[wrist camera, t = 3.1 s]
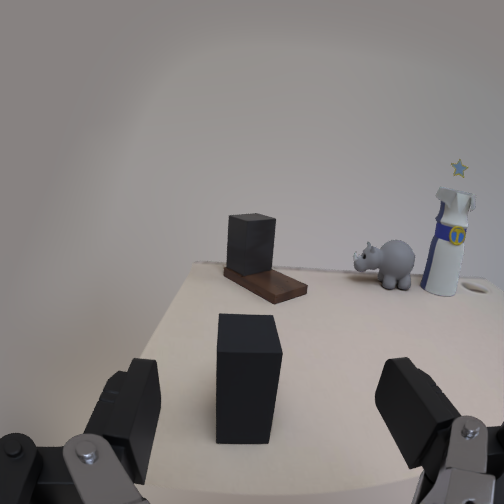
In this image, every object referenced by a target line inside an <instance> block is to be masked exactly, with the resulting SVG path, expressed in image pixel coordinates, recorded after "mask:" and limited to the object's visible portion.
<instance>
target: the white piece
mask: <svg viewBox="0 0 504 504" xmlns="http://www.w3.org/2000/svg"><path fill="white" fill-rule="evenodd" d="M451 165H452V166H453V167H454V168H455V172H454V176H455V175H460V176H462V177H463V178H464V172H463V171H464V170H466V169H467V168H468V167H466V166H464V165H462V163H461V160H460V159H459V161H458V163H457V164H454V163H451ZM436 197H437V198H438V199H439V200H441V207H440V211H439V214H438V216H437V217H436V218H435V219H436V221H437V224H436V230H435V235H434V237H433V239H432V241H431V245H430V249H429V254H428V259H427V263H426V267H425V271H424V274H423V278H422V281H421V284H420V285H421V287H422V288H423V289H424V290H426V291H428V292H430V293H433V294H436V295H440V296H453V295H455V293H456V288H457V283H458V278H459V273H460V269H461V264H462V260H463V254H464V240H465V235H466V229H467V228H468V226H469V224H468V219H467V216H468V211H469V208H470V206H471V210H470V211H473V210H474V209H475V207H476V206H475V205H476V199H475V198H476V195H475V194H471V193H467V192H463V191H459V190H453V189H449V188H444V187H440V188H439V190H438V192H437V194H436Z"/></svg>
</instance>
